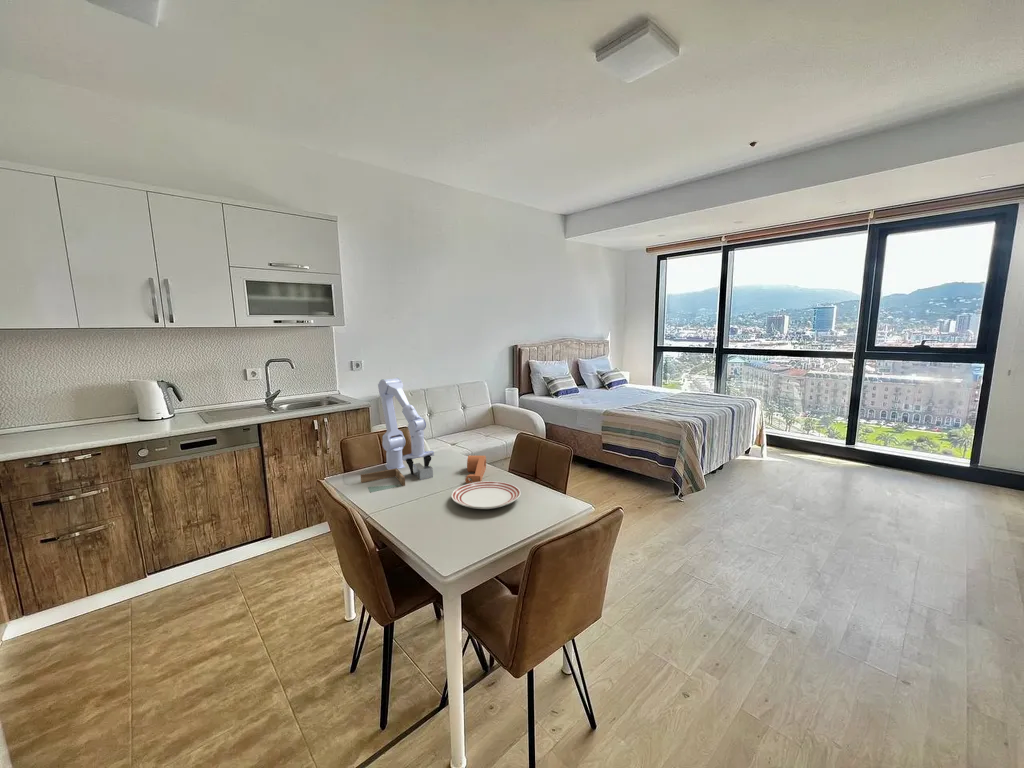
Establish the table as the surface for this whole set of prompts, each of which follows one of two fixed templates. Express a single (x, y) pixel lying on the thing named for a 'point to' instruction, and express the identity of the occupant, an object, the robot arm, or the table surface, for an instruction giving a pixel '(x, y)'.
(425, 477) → the bracket
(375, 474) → the brown wooden l-shaped piece
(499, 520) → the table surface
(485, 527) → the table surface
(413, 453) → the robot arm
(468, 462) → the crank
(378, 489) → the pad
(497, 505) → the dinner plate
